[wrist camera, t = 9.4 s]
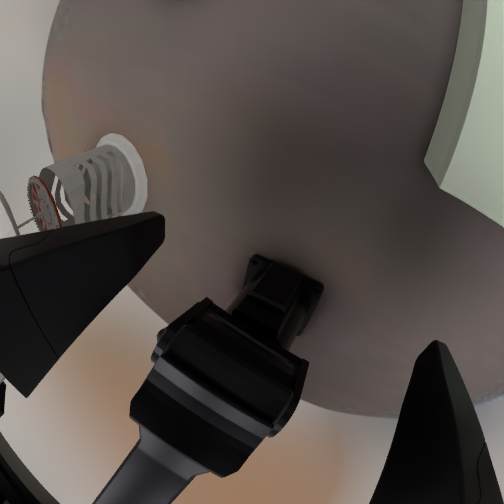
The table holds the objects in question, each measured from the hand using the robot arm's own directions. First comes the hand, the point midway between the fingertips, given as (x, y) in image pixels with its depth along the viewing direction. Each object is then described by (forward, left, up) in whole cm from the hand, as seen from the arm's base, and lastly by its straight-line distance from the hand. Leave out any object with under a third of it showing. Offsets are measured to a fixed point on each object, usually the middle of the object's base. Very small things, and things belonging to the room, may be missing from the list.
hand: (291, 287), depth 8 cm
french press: (-8, +22, -12) cm, 26 cm away
